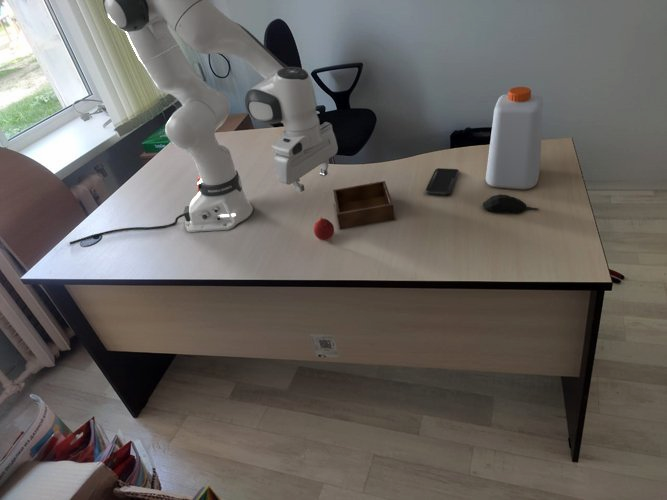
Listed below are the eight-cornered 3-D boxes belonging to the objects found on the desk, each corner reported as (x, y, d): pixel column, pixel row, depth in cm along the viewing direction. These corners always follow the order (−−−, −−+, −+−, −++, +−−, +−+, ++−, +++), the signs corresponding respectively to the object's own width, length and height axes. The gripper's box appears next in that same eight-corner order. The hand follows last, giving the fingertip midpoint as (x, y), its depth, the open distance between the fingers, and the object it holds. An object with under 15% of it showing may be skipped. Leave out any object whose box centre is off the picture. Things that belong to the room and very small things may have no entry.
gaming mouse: (537, 216, 132) (538, 203, 130) (481, 213, 137) (482, 201, 135) (537, 203, 137) (538, 191, 135) (483, 201, 142) (484, 189, 140)
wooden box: (339, 229, 142) (336, 214, 139) (335, 204, 154) (333, 189, 150) (394, 219, 142) (393, 204, 138) (386, 195, 153) (384, 180, 150)
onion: (336, 233, 141) (332, 210, 136) (334, 245, 136) (330, 222, 131) (317, 234, 142) (312, 212, 137) (315, 246, 137) (309, 223, 132)
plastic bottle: (491, 164, 158) (496, 80, 141) (540, 167, 152) (551, 80, 135) (483, 188, 148) (486, 100, 131) (535, 192, 142) (546, 100, 125)
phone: (425, 191, 149) (436, 167, 160) (425, 194, 150) (436, 170, 160) (450, 193, 146) (459, 169, 157) (450, 196, 147) (459, 172, 157)
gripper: (321, 117, 127) (328, 163, 135) (266, 149, 116) (278, 197, 124) (339, 121, 123) (345, 168, 132) (284, 154, 112) (295, 203, 121)
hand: (312, 182), depth 128 cm, fingers open, 8 cm apart
